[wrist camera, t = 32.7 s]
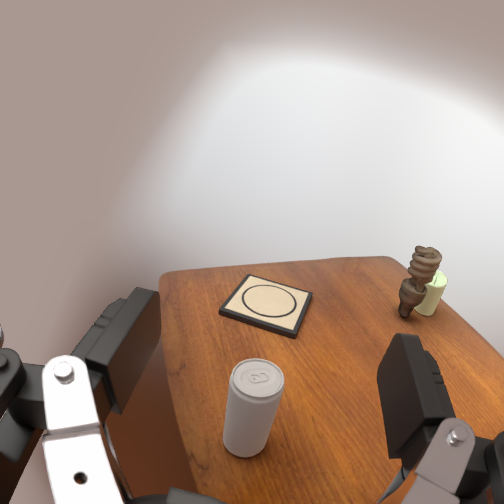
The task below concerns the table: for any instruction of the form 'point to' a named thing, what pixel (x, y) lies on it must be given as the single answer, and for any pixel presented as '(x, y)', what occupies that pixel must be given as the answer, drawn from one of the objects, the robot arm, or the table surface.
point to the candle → (432, 294)
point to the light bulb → (418, 278)
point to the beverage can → (251, 406)
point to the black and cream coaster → (267, 305)
